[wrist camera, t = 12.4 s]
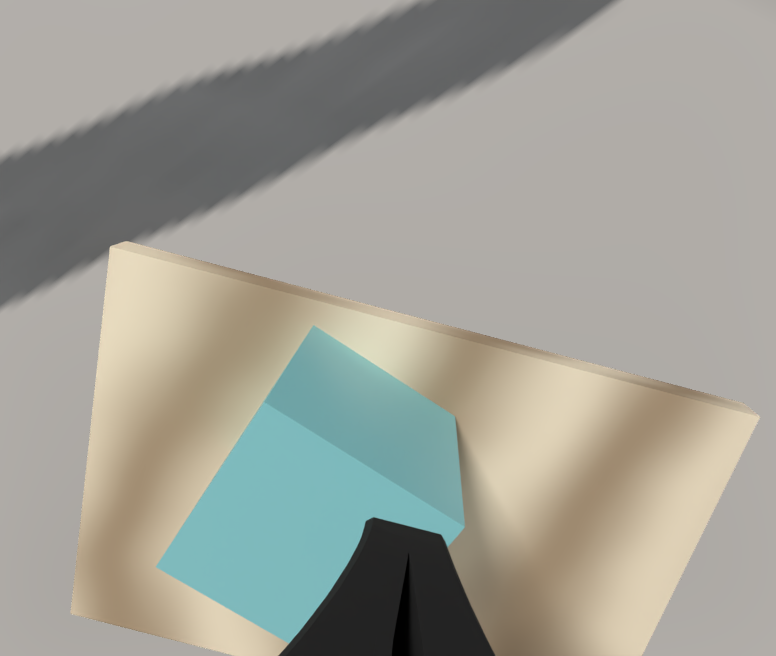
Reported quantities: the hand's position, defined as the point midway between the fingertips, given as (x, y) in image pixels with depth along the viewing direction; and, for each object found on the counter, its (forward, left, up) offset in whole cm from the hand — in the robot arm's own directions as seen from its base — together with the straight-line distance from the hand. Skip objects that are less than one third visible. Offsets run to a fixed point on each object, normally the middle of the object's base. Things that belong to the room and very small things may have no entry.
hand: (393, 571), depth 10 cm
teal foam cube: (+2, +2, -8) cm, 9 cm away
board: (0, +5, -9) cm, 11 cm away
